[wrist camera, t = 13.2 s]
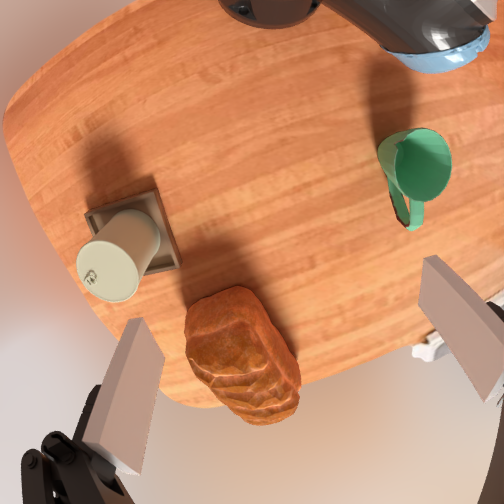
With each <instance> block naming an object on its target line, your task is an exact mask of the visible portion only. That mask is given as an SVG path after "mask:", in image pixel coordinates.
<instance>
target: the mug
mask: <svg viewBox="0 0 504 504" xmlns="http://www.w3.org/2000/svg"><path fill="white" fill-rule="evenodd" d="M377 155H378V159H379V162H380V164H381V166H382V169H383V170H384V172H385V174H386V175H387V180H388V187H389V194H390V198H391V201H392V205H393V208H394V211H395V214H396V217H397V220H398V221H399V222H400V223H401V224H402V225H403V226H404V227H405V228H406V229H408V230H410V231H413V230H416V229H417V228H418V227H420V226H421V225H422V224H423V218H424V202H426V201H430V200H433V199H434V198H436V197H437V196H439V195H440V194H441V193H442V191H443V190H444V189H445V188H446V186H447V184H448V181H449V179H450V176H451V170H452V157H451V153H450V150H449V147H448V145H447V143H446V142H445V140H444V139H443V137H442V136H441V135H439V134H438V133H437V132H435V131H433V130H430V129H427V128H414V129H409V130H406V131H402V132H397V133H395V134H393V135H391V136H389V137H387V138H386V139H385V140H383V141H382V142H381V144H380V145H379V147H378V152H377ZM403 195H405V196H406V197H408V198H409V204H410V215H409V212H408V209H407V206H406V203H405V201H404V198H403Z"/></svg>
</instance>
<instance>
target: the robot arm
mask: <svg viewBox="0 0 504 504" xmlns="http://www.w3.org/2000/svg"><path fill="white" fill-rule="evenodd" d="M218 1H219V3H220V5H221V6H222V8H223V9H224V10H225V11H226V12H227V13H228V14H229V15H230V16H232V17H233V18H234V19H236V20H238V21H240V22H242V23H244V24H247V25H249V26H253V27H257V28H263V29H282V28H288V27H292V26H295V25H297V24H300V23H302V22H303V21H305V20H307V19H308V18H309V17H310V16H312V15H313V13H314V12H315V11H316V10H317V8H318V7H319V6H320V4H321V3H322V4H323V5H325V6H326V7H328V8H330V9H331V10H333V11H334V12H336V13H337V14H339V15H340V16H342V17H343V18H345V19H346V20H348V21H349V22H351V23H352V24H353V25H355V26H356V27H358V28H359V29H360V30H362V31H363V32H364V33H366V34H367V35H368V36H370V37H371V38H372V39H374V40H375V41H376V42H377V43H379V45H380V47H381V48H382V49H383V50H385V51H386V52H388V53H390V54H392V55H394V56H395V57H396V58H397V59H399V60H400V61H401V62H402V63H403V64H405V65H406V66H407V67H409V68H410V69H412V70H416V71H418V72H421V73H427V74H436V73H443V72H447V71H451V70H454V69H457V68H459V67H461V66H464V65H466V64H467V63H469V62H471V61H472V60H474V59H475V58H476V57H477V52H481V51H484V50H485V48H486V47H487V45H488V43H489V39H490V31H489V28H488V25H487V24H489V23H491V22H492V21H494V20H496V19H497V0H218ZM418 306H419V307H420V308H421V310H422V311H423V312H424V314H425V315H426V316H427V318H428V319H429V320H430V322H431V323H432V324H433V326H434V327H435V329H436V330H437V331H438V333H439V334H440V336H441V337H442V339H443V340H444V341H445V343H446V344H447V346H448V347H449V349H450V350H451V352H452V353H453V355H454V356H455V358H456V359H457V361H458V362H459V364H460V365H461V367H462V368H463V370H464V371H465V373H466V374H467V376H468V378H469V379H470V381H471V382H472V384H473V386H474V387H475V389H476V391H477V392H478V394H479V395H480V397H481V399H482V401H483V402H484V403H485V402H486V401H488V400H490V399H491V398H493V397H494V396H496V395H497V394H498V393H499V391H500V390H501V388H502V386H504V311H503V310H502V308H501V307H500V306H498V305H496V304H494V303H493V302H491V301H489V302H487V303H485V302H484V301H483V300H482V299H481V297H480V296H479V295H478V294H477V293H476V292H475V291H474V290H473V289H472V288H471V287H470V286H469V285H468V284H467V283H466V282H465V281H464V280H463V279H462V278H461V277H460V276H458V275H457V274H456V273H455V272H454V271H453V270H452V269H451V268H450V267H449V266H448V265H447V264H446V263H445V262H444V261H443V260H441V259H440V258H439V257H438V256H437V255H433V256H430V257H426V258H423V269H422V278H421V287H420V294H419V301H418ZM164 361H165V357H164V355H163V353H162V351H161V350H160V348H159V346H158V344H157V343H156V341H155V339H154V337H153V335H152V333H151V332H150V330H149V328H148V326H147V324H146V322H145V320H144V318H143V317H141V318H134V319H129V320H128V323H127V325H126V327H125V329H124V332H123V334H122V336H121V339H120V341H119V343H118V346H117V348H116V350H115V353H114V355H113V358H112V360H111V363H110V365H109V368H108V370H107V372H106V375H105V378H104V380H103V383H102V385H96V386H95V387H94V388H93V389H92V391H91V392H90V393H89V395H88V398H87V400H86V403H85V404H86V405H85V406H84V408H83V411H82V412H83V413H82V414H81V416H80V419H79V422H78V425H77V427H76V430H75V433H74V436H73V439H72V440H70V439H69V438H68V437H67V436H66V435H64V434H63V433H61V432H60V431H54V432H51V433H49V434H48V435H47V436H46V437H45V438H44V440H43V442H42V445H41V452H42V453H43V454H44V455H43V454H42V453H41V452H40V451H38V450H36V449H30V450H28V451H26V453H25V454H24V455H23V457H22V461H21V480H22V495H23V496H22V497H23V504H135V503H134V502H133V500H132V499H131V497H130V495H129V494H128V492H127V490H126V489H125V487H124V485H123V484H122V482H121V480H120V479H119V477H118V476H117V475H116V474H115V471H116V468H117V469H119V470H120V471H122V472H123V473H127V474H134V475H141V470H142V465H143V459H144V454H145V448H146V443H147V438H148V433H149V428H150V422H151V418H152V413H153V408H154V404H155V399H156V395H157V391H158V386H159V382H160V378H161V374H162V369H163V365H164ZM502 401H503V404H502V411H501V417H500V423H499V429H498V434H497V439H496V443H495V447H494V452H493V456H492V460H491V463H490V467H489V471H488V475H487V477H486V480H485V483H484V486H483V489H482V492H481V495H480V498H479V501H478V504H504V394H503V396H502V397H501V399H500V400H499V401H498V403H497V406H496V407H499V406H500V404H501V403H502ZM53 491H54V492H55V493H56V497H54V496H53Z"/></svg>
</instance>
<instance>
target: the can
mask: <svg viewBox="0 0 504 504" xmlns="http://www.w3.org/2000/svg"><path fill="white" fill-rule="evenodd" d="M159 246H160V233H159V230H158V227H157V225H156V224H155V222H154V221H153V220H152V219H151V218H150V217H149V216H148V215H147V214H145V213H143V212H141V211H139V210H134V209H127V210H123V211H120V212H118V213H117V214H115V215H114V216H113V217H112V219H111V220H110V221H109V222H108V223H107V224H106V225H105V226H104V227H103V228H102V229H101V230H100V231H99V232H98V233H97V234H96V235H95V236H94V237H93V238H92V239H91V240H90V241H89V242H88V243H86V244H85V245H84V246H83V247H82V248H81V249H80V251H79V253H78V255H77V260H76V267H77V272H78V275H79V278H80V280H81V281H82V283H83V285H84V286H85V287H86V288H87V289H88V290H89V291H90V292H91V293H92V294H93V295H95V296H96V297H98V298H100V299H102V300H105V301H109V302H122V301H125V300H127V299H129V298H130V297H132V296H133V295H134V293H135V292H136V290H137V288H138V285H139V283H140V281H141V279H142V277H143V275H144V273H145V271H146V269H147V267H148V265H149V263H150V261H151V260H152V258H153V256H154V255H155V254H156V253H157V251H158V249H159Z"/></svg>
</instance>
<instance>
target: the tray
mask: <svg viewBox="0 0 504 504" xmlns="http://www.w3.org/2000/svg"><path fill="white" fill-rule="evenodd" d="M127 209H134V210H139V211H141V212H143V213H145V214H147V215H148V216H149V217H150V218H151V219H152V220H153V221H154V222H155V224H156V225H157V227H158V230H159V233H160V246H159V249H158V251H157V253H156V254H155V255H154V256H153V258H152V260H151V261H150V263H149V265H148V267H147V269H146V271H145V273H144V275H143V276H145V275H150V274H154V273H159V272H164V271H168V270H173V269H178V268H180V267H181V264H182V259H181V257H180V254H179V251H178V248H177V245H176V243H175V240H174V237H173V234H172V231H171V228H170V225H169V222H168V219H167V216H166V213H165V210H164V207H163V204H162V201H161V198H160V195H159V191H158V188H155V189H152V190H149V191H145V192H142V193H139V194H136V195H132V196H129V197H126V198H123V199H120V200H117V201H114V202H111V203H108V204H105V205H102V206H99V207H96V208H94V209H91V210H89V211H88V212H86V213H85V214H84V216H85V218H86V221H87V223H88V226H89V228H90V231H91V233H92V236H93V237H94V236H95V235H96V234H97V233H98V232H99V231H100V230H101V229H102V228H103V227H104V226H105V225H106V224H107V223H108V222H109V221H110V220H111V219H112V217H113V216H114V215H115V214H117V213H118V212H120V211H123V210H127Z"/></svg>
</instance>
